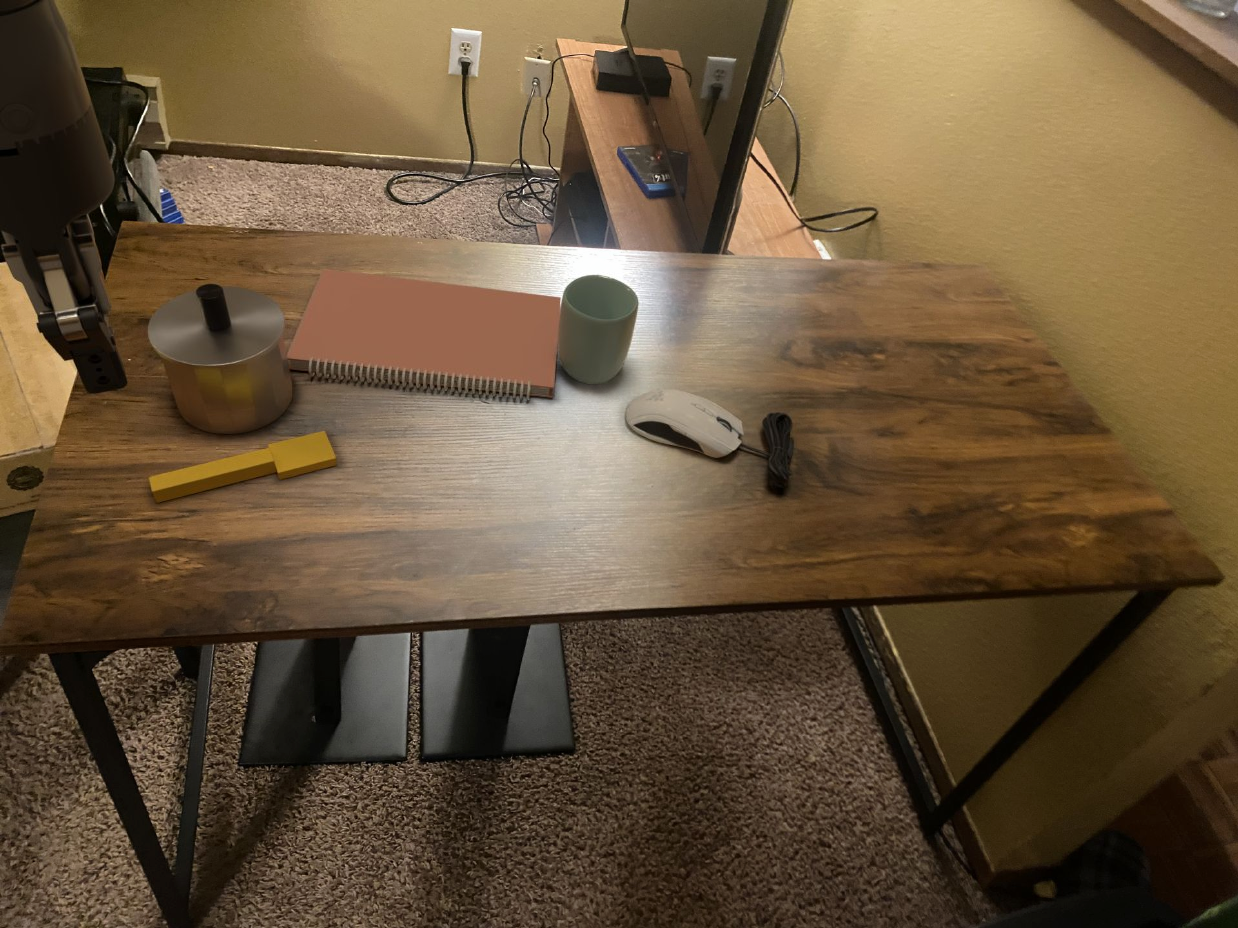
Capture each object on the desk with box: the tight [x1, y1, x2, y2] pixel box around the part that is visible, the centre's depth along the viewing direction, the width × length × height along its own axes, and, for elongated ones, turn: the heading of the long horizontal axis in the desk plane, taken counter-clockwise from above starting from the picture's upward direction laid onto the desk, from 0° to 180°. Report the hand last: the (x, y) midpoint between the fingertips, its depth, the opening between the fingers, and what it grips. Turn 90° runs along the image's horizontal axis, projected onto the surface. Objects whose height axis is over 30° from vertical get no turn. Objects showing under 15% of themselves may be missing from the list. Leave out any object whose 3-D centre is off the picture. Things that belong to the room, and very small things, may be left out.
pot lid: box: [147, 283, 287, 369], centre depth 75 cm, size 11×11×5 cm
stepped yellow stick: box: [148, 430, 338, 504], centre depth 75 cm, size 15×4×2 cm, turn 119°
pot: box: [160, 336, 293, 435], centre depth 79 cm, size 10×10×8 cm
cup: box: [557, 274, 640, 385], centre depth 89 cm, size 8×8×10 cm
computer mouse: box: [624, 388, 795, 489], centre depth 86 cm, size 10×18×4 cm, turn 75°
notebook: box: [286, 268, 562, 401], centre depth 91 cm, size 27×17×2 cm, turn 91°
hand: (107, 383), depth 50 cm, fingers closed
